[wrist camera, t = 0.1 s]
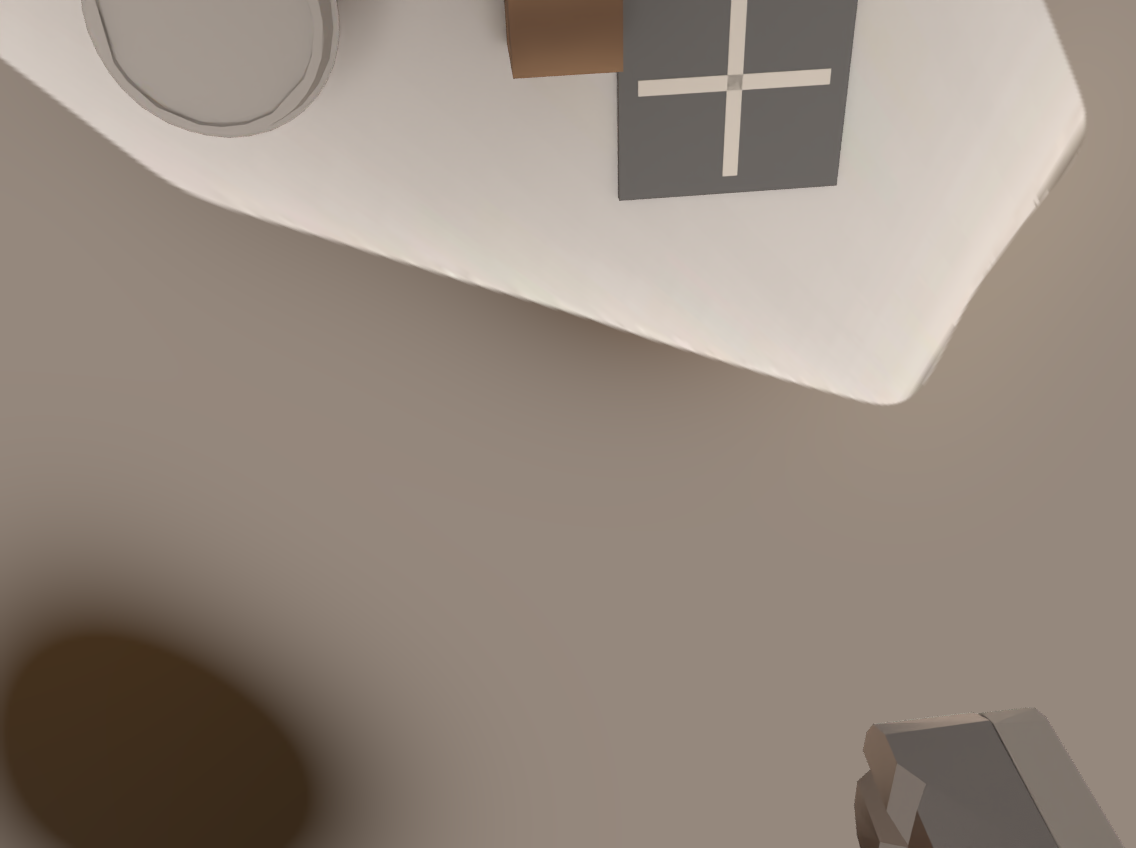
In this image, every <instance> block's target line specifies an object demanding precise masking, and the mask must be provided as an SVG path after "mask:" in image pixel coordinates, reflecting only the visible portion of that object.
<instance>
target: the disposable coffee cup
mask: <svg viewBox="0 0 1136 848" xmlns="http://www.w3.org/2000/svg"><path fill="white" fill-rule="evenodd" d="M81 3H82V11H83V15H84V19H85V23H86V26H87V30H88V33H89V35H90V37H91V40H92V42H93V44H94V46H95V49H96V51H97V53H98V55H99V57H100V58H101V60H102V62H103V63H104V65H105V67H106V68H107V70H108V71H109V73H110V74H111V76H112V77H113V78H114V79H115V81H116V82H117V83H118V84H119V86H120V87H121V88H122V89H123V90H124V91H125V92H126V93H127V94H128V95H129V96H130V97H131V98H132V99H134V100H135V101H136V102H137V103H138V104H139V105H140V106H141V107H142V108H144V109H145V110H147V111H149V112H150V113H152V114H154V115H155V116H157V117H159V118H160V119H162V120H164V121H165V122H167V123H169V124H172V125H174V126H177V127H180V128H182V129H185V130H188V131H191V132H196V133H200V134H203V135H209V136H218V137H227V138H231V137H244V136H252V135H256V134H260V133H264V132H268V131H272V130H274V129H276V128H278V127H280V126H281V125H283V124H285V123H287V122H289V121H291V120H293V119H294V118H295V117H297V116H298V115H299V114H300V113H302V112H303V111H304V110H305V109H306V108H307V107H308V106H309V105H310V104H311V103H312V102H313V101H314V100H315V99H316V97H317V96H318V95H319V93H320V92H321V90H322V88H323V87H324V85H325V84H326V82H327V80H328V77H329V75H330V73H331V71H332V68H333V66H334V62H335V58H336V54H337V50H338V42H339V14H338V6H337V0H81Z"/></svg>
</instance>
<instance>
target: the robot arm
mask: <svg viewBox="0 0 1136 848" xmlns="http://www.w3.org/2000/svg"><path fill="white" fill-rule="evenodd" d="M863 752H864V754H865V757H866V759H867V762H868V765H869V767H870V770H869V771H868V772H867V773H866V774H865V775H864V776H863V777H862V778H860V779H859V780H858V781H857V788H856V795H855V803H854V808H855V820H856V830H857V837H858V841H859V845H860V848H1125V847H1124V846H1123V844H1122V842H1121V840H1120V839H1119V837H1118V836H1117V834H1116V832H1115V831H1114V829H1113V827H1112V825H1111V824H1110V822H1109V820H1108V819H1107V817H1106V815H1105V814H1104V812H1103V811H1102V809H1101V807H1100V806H1099V804H1098V802H1097V801H1096V799H1095V797H1094V796H1093V794H1092V792H1091V791H1090V789H1089V787H1088V786H1087V784H1086V782H1085V781H1084V779H1083V777H1082V776H1081V774H1080V772H1079V771H1078V769H1077V767H1076V766H1075V764H1074V762H1073V761H1072V759H1071V757H1070V756H1069V754H1068V752H1067V751H1066V749H1065V747H1064V746H1063V744H1062V742H1061V741H1060V739H1059V737H1058V736H1057V734H1056V732H1055V731H1054V729H1053V728H1052V726H1051V724H1050V722H1049V721H1048V719H1047V717H1046V716H1045V715H1043V714H1042V713H1041V712H1040V711H1038V710H1037V709H1036V708H1020V709H1011V710H1002V711H994V712H985V713H979V714H977V713H975V712H971V713H962V714H954V715H945V716H937V717H929V718H921V719H912V720H904V721H895V722H887V723H879V724H873V725H872V726H871V727H870V729H869V730H868V731H867V733H866V738H865V743H864V747H863Z"/></svg>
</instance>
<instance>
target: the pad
mask: <svg viewBox="0 0 1136 848" xmlns="http://www.w3.org/2000/svg"><path fill="white" fill-rule="evenodd" d="M857 2H858V0H623V72H617V79H618V198H619V201H622V200H636V199H651V198H665V197H679V196H693V195H707V194H722V193H736V192H750V191H764V190H778V189H793V188H807V187H821V186H835V185H837V176H838V168H839V159H840V150H841V141H842V133H843V124H844V115H845V107H846V98H847V89H848V80H849V72H850V63H851V54H852V46H853V37H854V28H855V20H856V11H857Z"/></svg>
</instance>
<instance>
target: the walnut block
mask: <svg viewBox="0 0 1136 848" xmlns="http://www.w3.org/2000/svg"><path fill="white" fill-rule="evenodd" d="M504 3H505V18H506V33H507V45H508V51H509V57H510V63H511V68H512V74H513V79H515V78H531V77H546V76H562V75H578V74H594V73H610V72H623V0H504Z"/></svg>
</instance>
